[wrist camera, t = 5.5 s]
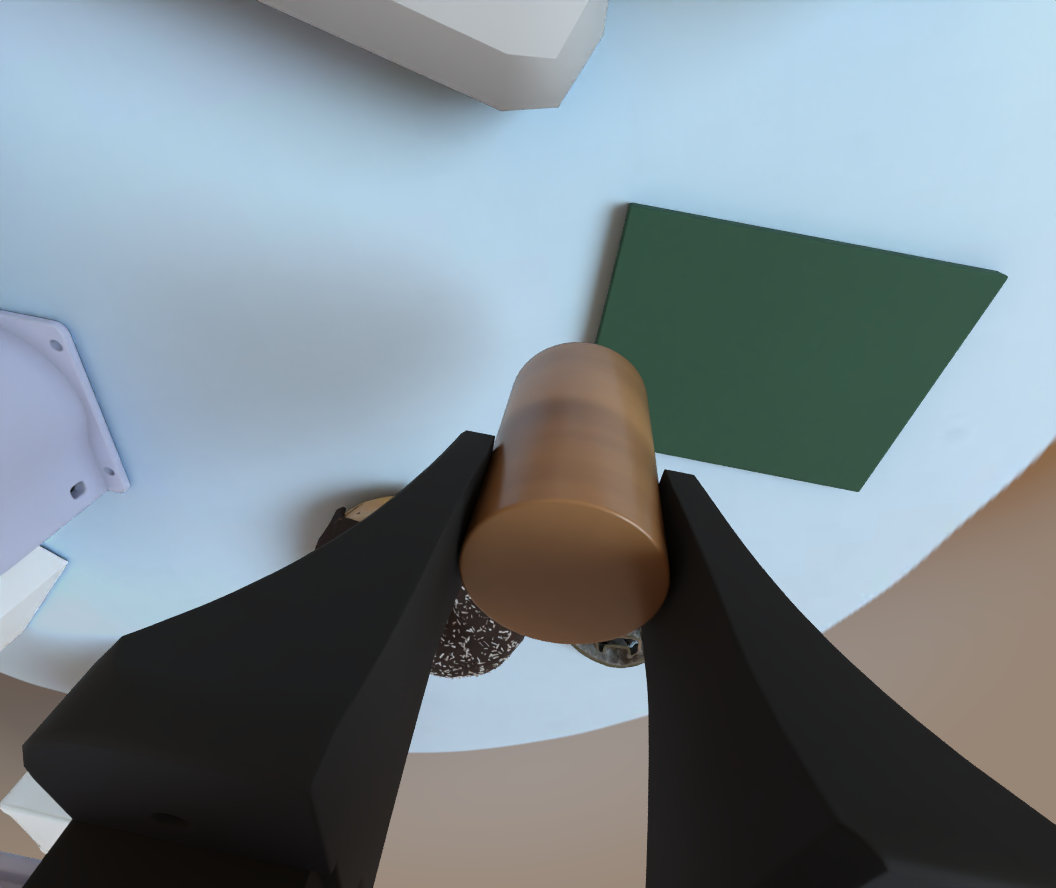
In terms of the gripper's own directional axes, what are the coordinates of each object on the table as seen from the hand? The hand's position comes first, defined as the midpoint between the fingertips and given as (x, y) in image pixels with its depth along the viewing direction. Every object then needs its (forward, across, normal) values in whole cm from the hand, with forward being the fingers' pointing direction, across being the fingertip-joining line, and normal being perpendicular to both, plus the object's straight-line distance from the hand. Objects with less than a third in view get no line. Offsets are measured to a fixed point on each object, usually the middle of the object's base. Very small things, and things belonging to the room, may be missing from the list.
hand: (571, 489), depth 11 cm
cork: (+3, 0, 0) cm, 3 cm away
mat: (+10, -6, 0) cm, 12 cm away
